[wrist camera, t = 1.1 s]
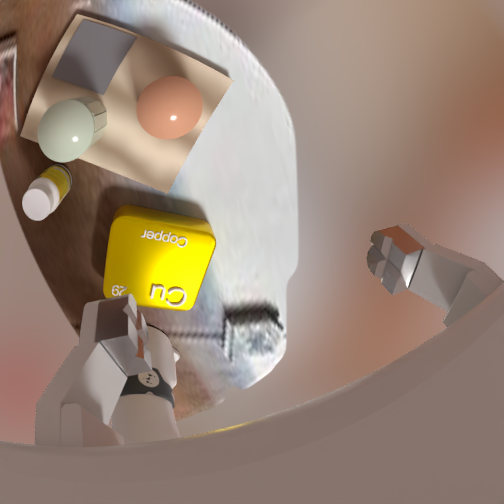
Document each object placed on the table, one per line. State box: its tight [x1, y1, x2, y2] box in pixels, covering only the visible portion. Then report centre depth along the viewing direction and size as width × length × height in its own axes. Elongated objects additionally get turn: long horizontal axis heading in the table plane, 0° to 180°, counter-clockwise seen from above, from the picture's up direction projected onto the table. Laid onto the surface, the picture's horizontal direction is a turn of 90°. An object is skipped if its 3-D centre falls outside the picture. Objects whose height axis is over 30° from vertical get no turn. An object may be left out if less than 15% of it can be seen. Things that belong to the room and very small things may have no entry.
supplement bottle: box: [22, 164, 72, 221], centre depth 26 cm, size 5×5×8 cm
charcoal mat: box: [52, 19, 137, 95], centre depth 22 cm, size 8×8×1 cm
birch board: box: [21, 14, 234, 194], centre depth 27 cm, size 17×23×2 cm
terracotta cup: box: [137, 76, 203, 139], centre depth 26 cm, size 6×6×8 cm
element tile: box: [103, 205, 216, 311], centre depth 40 cm, size 15×15×5 cm
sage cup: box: [38, 96, 107, 162], centre depth 23 cm, size 6×6×8 cm
